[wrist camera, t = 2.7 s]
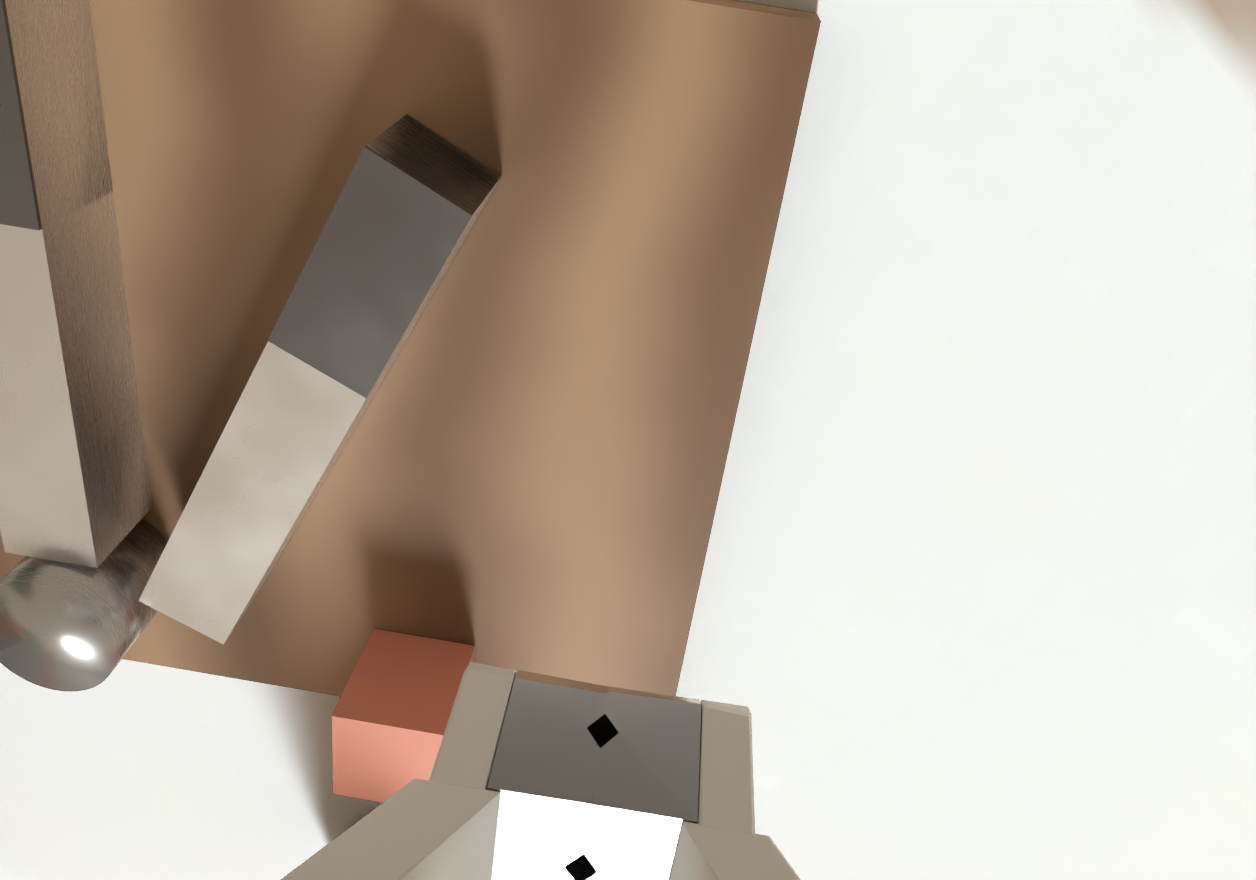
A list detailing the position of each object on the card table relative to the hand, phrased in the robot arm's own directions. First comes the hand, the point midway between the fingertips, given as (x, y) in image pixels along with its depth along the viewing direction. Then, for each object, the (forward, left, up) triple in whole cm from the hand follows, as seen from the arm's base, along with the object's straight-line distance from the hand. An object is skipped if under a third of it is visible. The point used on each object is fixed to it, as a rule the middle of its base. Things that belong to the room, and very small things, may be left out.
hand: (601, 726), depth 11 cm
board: (+11, +5, -16) cm, 20 cm away
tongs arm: (+11, +6, -14) cm, 19 cm away
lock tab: (+5, +14, -14) cm, 21 cm away
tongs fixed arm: (+14, +2, -14) cm, 21 cm away
